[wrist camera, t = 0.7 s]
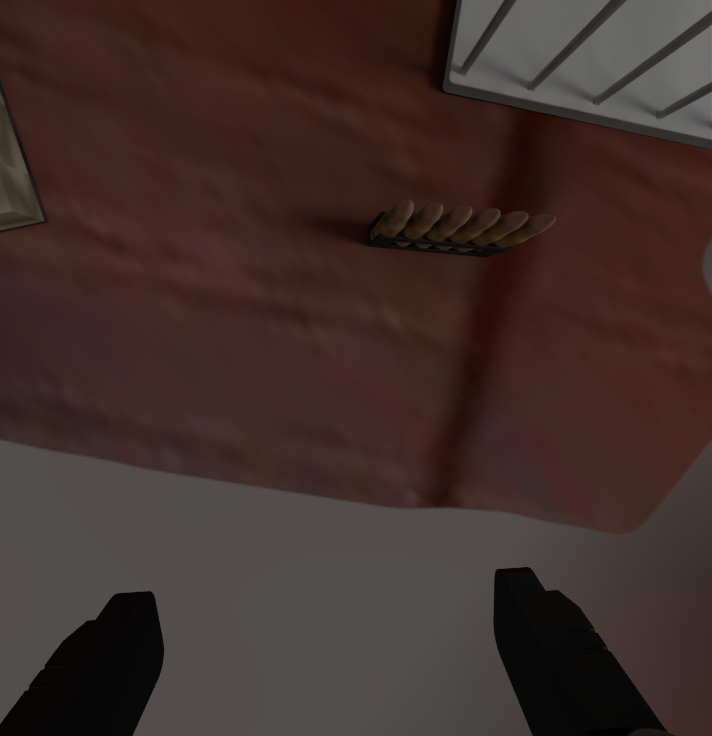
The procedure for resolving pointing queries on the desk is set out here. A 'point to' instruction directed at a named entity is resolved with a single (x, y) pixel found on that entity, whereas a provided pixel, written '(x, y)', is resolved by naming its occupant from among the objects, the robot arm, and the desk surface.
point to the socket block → (16, 178)
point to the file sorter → (590, 61)
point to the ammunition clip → (453, 229)
